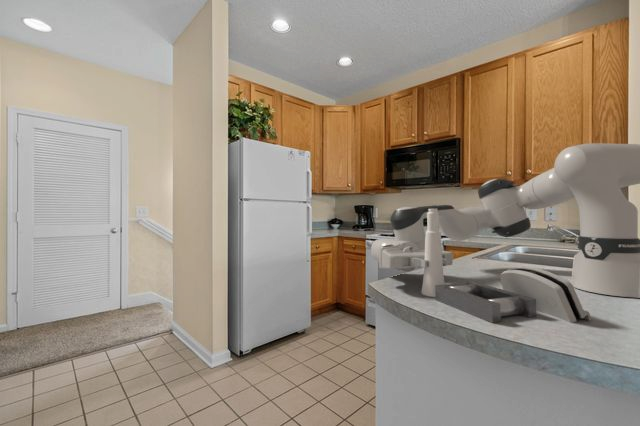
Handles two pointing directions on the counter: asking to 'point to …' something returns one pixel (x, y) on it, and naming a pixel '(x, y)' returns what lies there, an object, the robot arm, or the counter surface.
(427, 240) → the cosmetic bottle
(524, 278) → the grey curved wedge
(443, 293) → the grey hollow rectangular frame
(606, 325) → the counter surface
